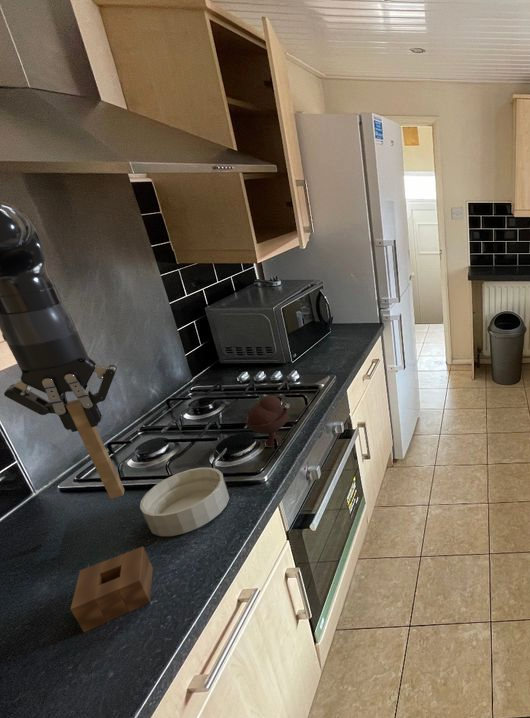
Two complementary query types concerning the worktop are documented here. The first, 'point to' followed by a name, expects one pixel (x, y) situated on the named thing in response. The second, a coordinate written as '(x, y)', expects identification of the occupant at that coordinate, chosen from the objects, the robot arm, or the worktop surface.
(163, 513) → the mixing bowl
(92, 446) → the stick
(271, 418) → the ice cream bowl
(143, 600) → the stick holder
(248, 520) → the worktop surface
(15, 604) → the worktop surface
